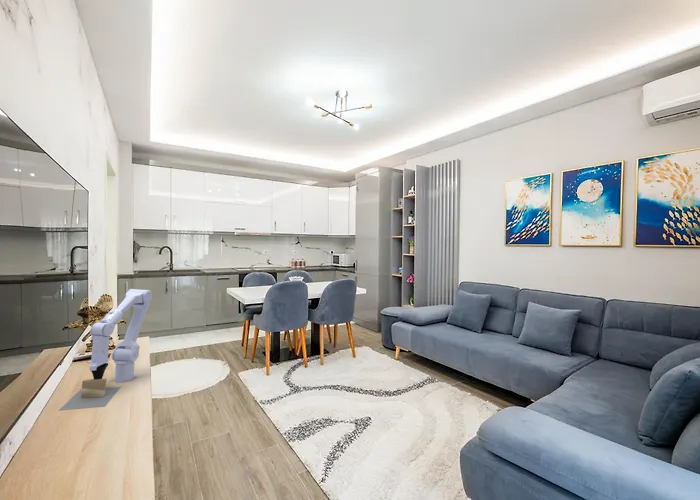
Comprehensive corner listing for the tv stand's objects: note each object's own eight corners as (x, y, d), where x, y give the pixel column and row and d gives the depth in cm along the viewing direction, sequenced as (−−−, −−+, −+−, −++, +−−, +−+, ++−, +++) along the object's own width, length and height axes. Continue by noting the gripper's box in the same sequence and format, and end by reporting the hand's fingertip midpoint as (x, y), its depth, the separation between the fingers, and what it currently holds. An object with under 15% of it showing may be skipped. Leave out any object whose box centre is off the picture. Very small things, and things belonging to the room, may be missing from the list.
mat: (80, 390, 144) (80, 389, 144) (120, 387, 149) (121, 386, 149) (58, 412, 125) (58, 410, 125) (104, 408, 130) (105, 406, 130)
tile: (82, 396, 137) (83, 379, 137) (105, 394, 140) (106, 378, 140) (80, 398, 136) (82, 381, 136) (103, 396, 138) (105, 379, 139)
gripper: (95, 345, 148) (93, 376, 147) (82, 355, 134) (79, 389, 134) (114, 345, 150) (112, 375, 150) (102, 355, 136) (100, 387, 136)
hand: (97, 381), depth 142 cm, fingers closed
